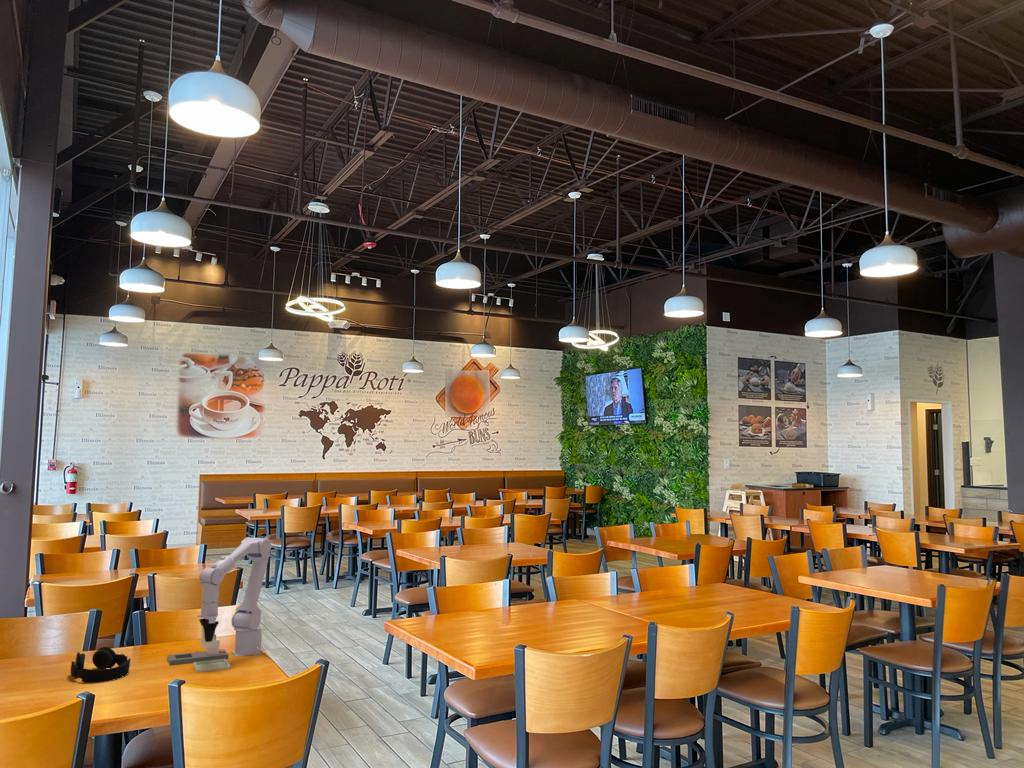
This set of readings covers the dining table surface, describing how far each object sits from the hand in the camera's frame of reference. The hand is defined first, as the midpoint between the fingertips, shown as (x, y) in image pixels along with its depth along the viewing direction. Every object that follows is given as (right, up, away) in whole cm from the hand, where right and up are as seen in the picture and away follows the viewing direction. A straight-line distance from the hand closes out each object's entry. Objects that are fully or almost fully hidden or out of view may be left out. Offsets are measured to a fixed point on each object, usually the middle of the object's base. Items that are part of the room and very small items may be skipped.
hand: (207, 640), depth 269 cm
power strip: (-7, -10, +7) cm, 14 cm away
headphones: (-32, -8, -13) cm, 36 cm away
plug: (0, -2, 0) cm, 2 cm away
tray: (+2, -9, -2) cm, 10 cm away
